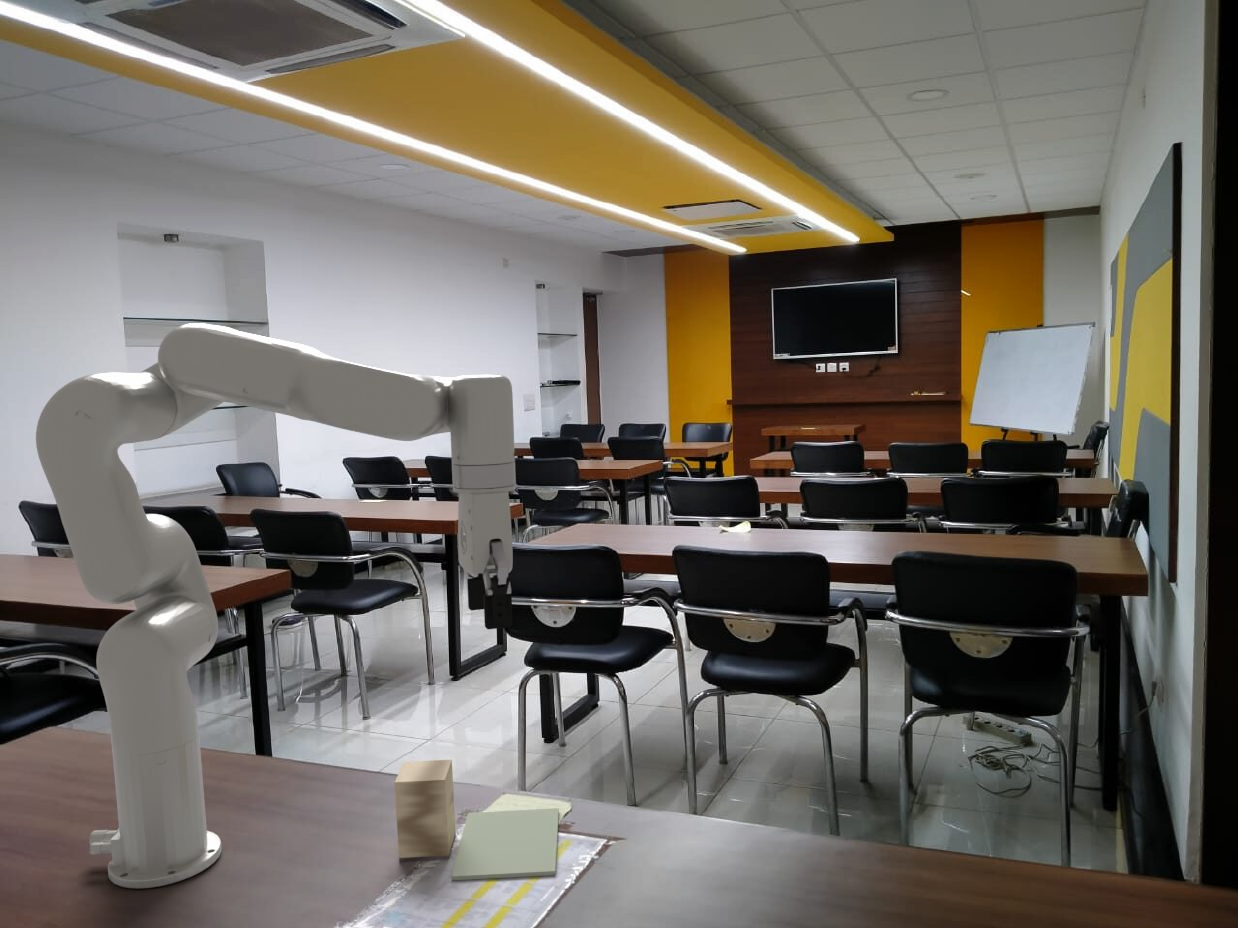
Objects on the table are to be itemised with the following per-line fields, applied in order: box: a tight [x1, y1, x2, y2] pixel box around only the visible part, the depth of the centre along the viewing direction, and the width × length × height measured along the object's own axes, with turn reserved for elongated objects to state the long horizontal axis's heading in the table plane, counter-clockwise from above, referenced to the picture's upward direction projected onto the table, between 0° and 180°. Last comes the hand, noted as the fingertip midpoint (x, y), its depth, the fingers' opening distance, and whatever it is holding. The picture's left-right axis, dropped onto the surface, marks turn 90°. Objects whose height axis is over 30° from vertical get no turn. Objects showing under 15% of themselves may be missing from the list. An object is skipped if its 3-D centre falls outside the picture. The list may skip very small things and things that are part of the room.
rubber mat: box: [451, 807, 560, 881], centre depth 118 cm, size 12×16×1 cm
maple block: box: [394, 759, 457, 863], centre depth 117 cm, size 6×6×10 cm
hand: (489, 617), depth 115 cm, fingers open, 9 cm apart
